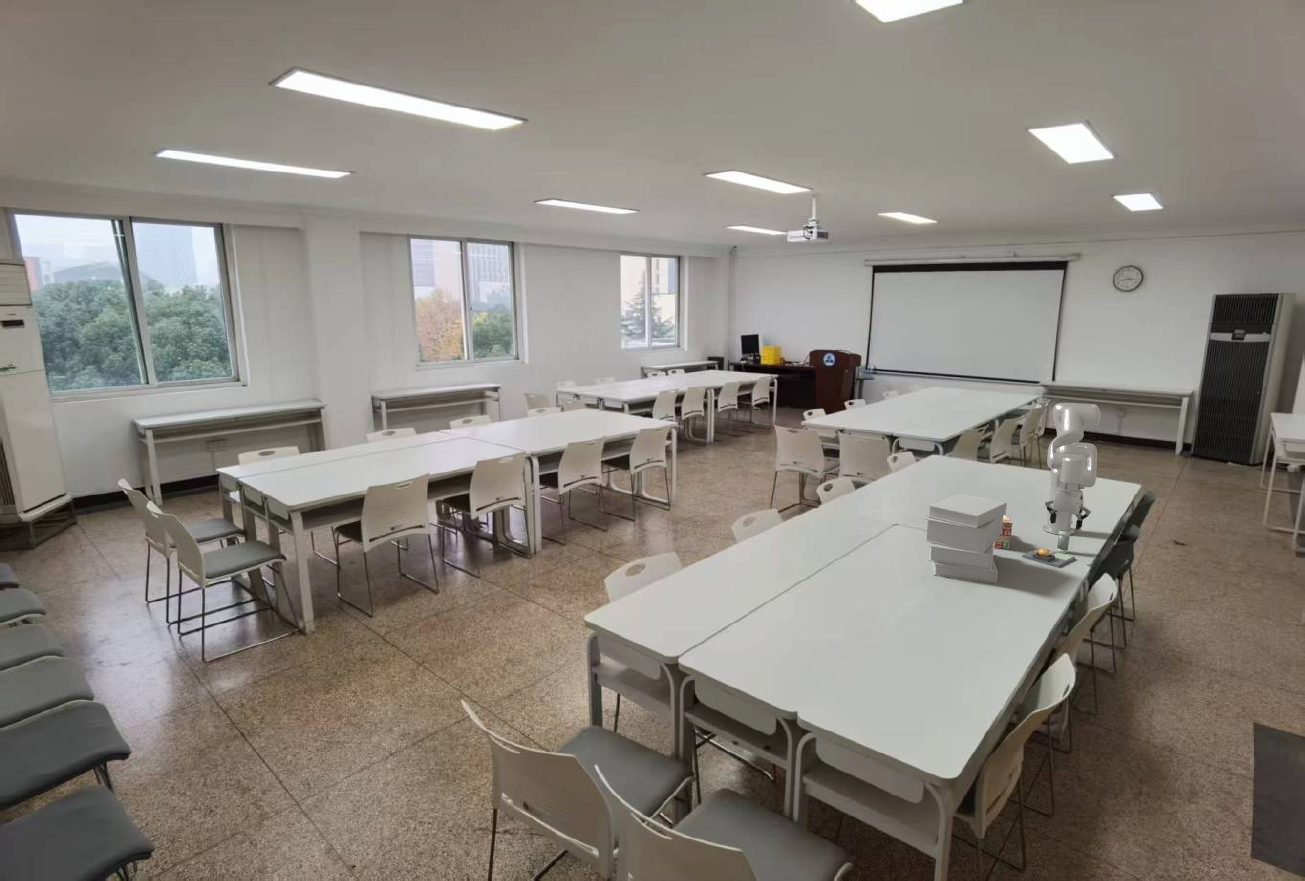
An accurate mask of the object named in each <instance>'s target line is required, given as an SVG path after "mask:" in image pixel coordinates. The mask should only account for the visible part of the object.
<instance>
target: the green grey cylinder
mask: <svg viewBox="0 0 1305 881" xmlns="http://www.w3.org/2000/svg"><path fill="white" fill-rule="evenodd" d="M1057 535H1058V534H1057ZM1070 536H1071V535H1070V532H1069V531H1066V530H1059V535H1058V536H1057V543H1056V544H1057V546H1056V552H1059V553H1062V554H1068V553H1069V546H1070V538H1071V537H1070Z"/></svg>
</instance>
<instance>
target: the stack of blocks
mask: <svg viewBox="0 0 1305 881" xmlns="http://www.w3.org/2000/svg"><path fill="white" fill-rule="evenodd" d="M1012 530H1013V522H1012V520H1011V519H1009V518H1008V516H1007V515H1006V514H1005V515H1003V524H1002V533H1001V535H1000V536H999V537H998V538H997V539H996V540H995V541H994V542H993V549H1003V550H1010V546H1011V538H1012Z"/></svg>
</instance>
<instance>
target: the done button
mask: <svg viewBox="0 0 1305 881" xmlns="http://www.w3.org/2000/svg"><path fill="white" fill-rule="evenodd" d="M1049 550H1050V549H1047V550H1046V548H1044V549H1039V555H1040V556H1043V557H1049V552H1050V551H1049Z"/></svg>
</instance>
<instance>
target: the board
mask: <svg viewBox="0 0 1305 881" xmlns="http://www.w3.org/2000/svg"><path fill="white" fill-rule="evenodd" d="M1039 549H1046V548H1043V547H1038V548H1037V547H1036V548H1034V549H1032V550H1030V551H1028V552H1026V553H1023V554H1022V555H1021V557H1022V558H1023V557H1024V559H1026V558H1027V559H1026V560H1030V561H1033V560H1034V561H1033V562H1037V563H1041V564H1045V565H1048V566H1052V567H1054V568H1055V567H1056V568H1060V567H1062V566H1064V565H1067V564H1069V563H1070V562H1072V561H1074V559H1075V560H1076V557H1075V556H1073V555H1069V554H1067V553H1059V552H1057V551H1054V550H1050V549H1048V548H1047V549H1046V550H1049V551H1050V552H1049V557H1043V556H1040V555H1039Z"/></svg>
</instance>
